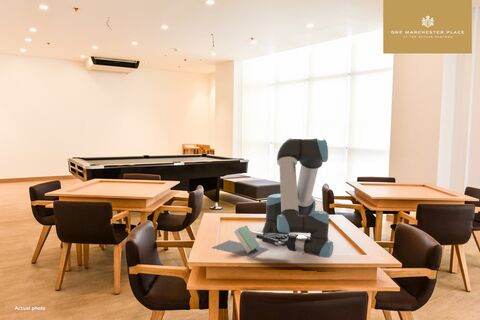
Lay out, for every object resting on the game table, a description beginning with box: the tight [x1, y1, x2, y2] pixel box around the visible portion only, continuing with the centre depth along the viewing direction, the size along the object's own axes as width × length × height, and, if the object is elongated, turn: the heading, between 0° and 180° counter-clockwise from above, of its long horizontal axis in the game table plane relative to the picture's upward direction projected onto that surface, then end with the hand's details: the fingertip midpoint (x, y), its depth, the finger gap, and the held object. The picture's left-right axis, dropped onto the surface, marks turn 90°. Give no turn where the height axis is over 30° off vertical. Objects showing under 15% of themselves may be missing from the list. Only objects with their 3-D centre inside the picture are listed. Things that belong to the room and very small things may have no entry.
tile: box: [233, 224, 261, 253], centre depth 181 cm, size 3×8×12 cm
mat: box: [211, 240, 270, 259], centre depth 184 cm, size 24×16×1 cm, turn 58°
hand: (252, 234), depth 179 cm, fingers closed
